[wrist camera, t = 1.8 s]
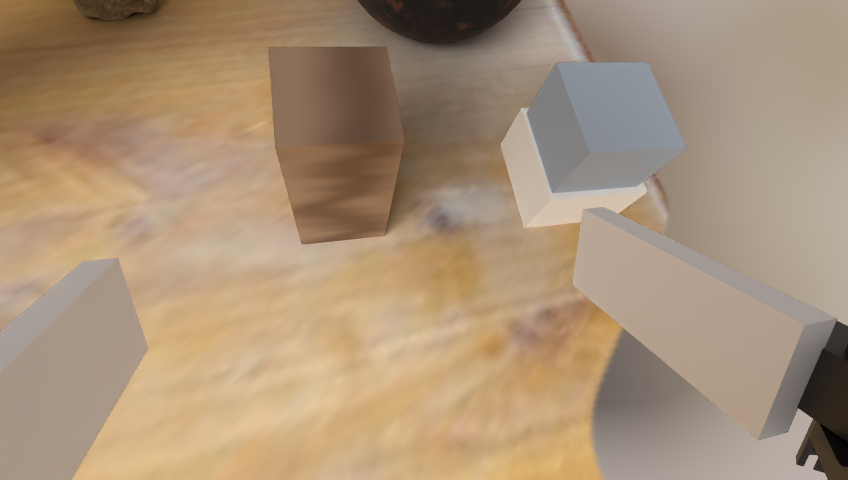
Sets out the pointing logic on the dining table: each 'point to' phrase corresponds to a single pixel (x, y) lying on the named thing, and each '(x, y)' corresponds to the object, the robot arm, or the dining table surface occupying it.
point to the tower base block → (534, 186)
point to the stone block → (113, 8)
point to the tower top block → (602, 126)
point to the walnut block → (336, 138)
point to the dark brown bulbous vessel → (439, 17)
